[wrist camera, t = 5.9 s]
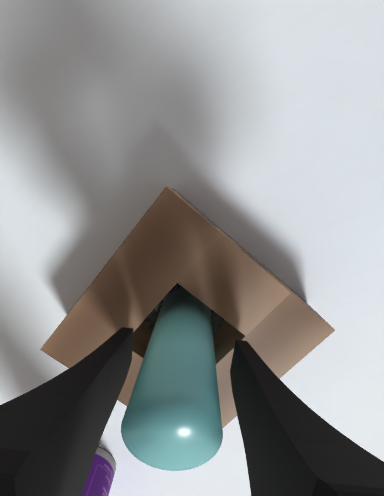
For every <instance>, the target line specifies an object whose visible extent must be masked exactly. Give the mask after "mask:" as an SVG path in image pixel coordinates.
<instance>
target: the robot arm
mask: <svg viewBox="0 0 384 496" xmlns="http://www.w3.org/2000/svg"><path fill="white" fill-rule="evenodd" d="M133 329H134V328H126V327H122V328H120V329H119V330H118V331H117V332H116V333H115V334H113V335H112V336H111V337H110V338H109V339H108V340H106V341H105V342H104V343H103V344H102V345H100V346H99V347H98V348H97V349H95V350H94V351H93V352H92V353H90V354H89V355H88V356H86V357H85V358H83V359H82V360H81V361H79V362H78V363H77V364H75V365H74V366H72V367H71V368H69V369H68V370H66V371H64V372H63V373H61V374H60V375H58V376H56V377H55V378H53V379H51V380H49V381H48V382H46V383H44V384H42V385H40V386H38V387H37V388H35V389H33V390H31V391H29V392H27V393H25V394H23V395H21V396H19V397H17V398H15V399H13V400H11V401H8V402H6V403H4V404H2V405H0V496H81V495H82V492H83V489H84V486H85V483H86V480H87V477H88V474H89V471H90V468H91V465H92V462H93V459H94V456H95V453H96V450H97V447H98V444H99V442H100V439H101V436H102V434H103V431H104V429H105V426H106V424H107V422H108V419H109V417H110V415H111V413H112V410H113V408H114V406H115V403H116V401H117V399H118V397H119V394H120V392H121V390H122V387H123V385H124V383H125V380H126V377H127V374H128V371H129V368H130V365H131V361H132V348H133ZM230 377H231V386H232V393H233V398H234V403H235V407H236V412H237V416H238V420H239V425H240V429H241V434H242V438H243V443H244V448H245V453H246V460H247V467H248V474H249V481H250V488H251V496H384V462H383V461H381V460H380V459H378V458H377V457H375V456H374V455H372V454H370V453H369V452H367V451H366V450H364V449H363V448H361V447H360V446H358V445H357V444H356V443H354V442H353V441H351V440H350V439H349V438H347V437H346V436H344V435H343V434H342V433H340V432H339V431H338V430H336V429H335V428H334V427H332V426H331V425H330V424H328V423H327V422H326V421H325V420H324V419H322V418H321V417H320V416H319V415H317V414H316V413H315V412H314V411H313V410H311V409H310V408H309V407H308V406H307V405H306V404H305V403H303V402H302V401H301V400H300V399H299V398H298V397H297V396H296V395H295V394H294V393H293V392H292V391H291V390H290V389H289V388H288V387H287V386H286V385H285V384H284V383H283V382H282V381H281V380H280V379H279V378H278V377H277V376H276V375H275V374H274V373H273V372H272V370H271V369H270V368H269V367H268V366H267V365H266V363H265V362H264V361H263V360H262V359H261V357H260V356H259V355H258V354H257V353H256V351H255V350H254V349H253V348H252V346H251V345H250V344H249V343H248V342H247V341H243V340H236V341H235V346H234V352H233V357H232V363H231V368H230Z"/></svg>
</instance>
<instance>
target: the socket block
mask: <svg viewBox="0 0 384 496" xmlns="http://www.w3.org/2000/svg"><path fill="white" fill-rule="evenodd" d="M177 283H178V284H179V285H181V286H182V287H183V288H185V289H186V290H187V291H188V292H190V293H191V294H192V295H194V296H195V297H196V298H197V299H199V300H200V301H201V302H203V303H204V304H205V305H206V306H208V307H209V308H210V309H212V310H213V311H214V312H215V313H217V314H218V315H219V316H221V317H222V318H223V319H224V320H225V321H224V322H223V323H222V324H221V325H220V326H219V327H218V328H217V329H216V330H215V331H214V332H213V341H214V351H215V361H216V371H217V381H218V391H219V401H220V411H221V421H222V428H223V427H224V426H225V425H227V424H228V423H229V422H230V421H231V420H232V419H234V418H235V417H236V416H237V412H236V407H235V403H234V398H233V393H232V386H231V377H230V368H231V363H232V357H233V352H234V346H235V341H236V340H243V341H247V342H248V343H249V344H250V345H251V346H252V348H253V349H254V350H255V351H256V353H257V354H258V355H259V356H260V357H261V359H262V360H263V361H264V362H265V363H266V365H267V366H268V367H269V368H270V369H271V370H272V372H273V373H274V374H275V375H276V376H277V377H278V378H279V379H280V378H281V377H282V376H283V375H284V374H285V373H286V372H288V371H289V370H290V369H291V368H292V367H293V366H294V365H296V364H297V363H298V362H299V361H300V360H301V359H303V358H304V357H305V356H306V355H307V354H308V353H309V352H311V351H312V350H313V349H314V348H315V347H316V346H317V345H319V344H320V343H321V342H322V341H323V340H324V339H325V338H327V337H328V336H329V335H330V334H331V333H332V332H334V331H335V330H334V329H333V328H332V327H331V326H330V325H329V324H328V323H327V322H326V321H325V320H324V319H323V318H322V317H321V316H320V315H319V314H318V313H317V312H316V311H314V310H313V309H312V308H311V307H310V306H309V305H308V304H307V303H306V302H305V301H304V300H302V299H301V298H300V297H299V296H298V295H297V294H295V293H294V292H293V291H292V290H291V289H290V288H288V287H287V286H286V285H285V284H284V283H282V282H281V281H280V280H279V279H278V278H277V277H275V276H274V275H273V274H272V273H271V272H270V271H268V270H267V269H266V268H265V267H264V266H263V265H261V264H260V263H259V262H258V261H257V260H256V259H254V258H253V257H252V256H251V255H250V254H248V253H247V252H246V251H245V250H244V249H243V248H241V247H240V246H239V245H238V244H237V243H236V242H234V241H233V240H232V239H231V238H230V237H229V236H227V235H226V234H225V233H224V232H223V231H222V230H220V229H219V228H218V227H217V226H216V225H214V224H213V223H212V222H211V221H210V220H209V219H207V218H206V217H205V216H204V215H203V214H202V213H200V212H199V211H198V210H197V209H196V208H195V207H193V206H192V205H191V204H190V203H189V202H188V201H186V200H185V199H184V198H183V197H182V196H180V195H179V194H178V193H177V192H176V191H175V190H173V189H171V188H168V187H166V188H165V189H164V191H163V192H162V193H161V194H160V196H159V197H158V198H157V200H156V201H155V202H154V203H153V205H152V206H151V207H150V209H149V210H148V211H147V213H146V214H145V215H144V216H143V218H142V219H141V220H140V222H139V223H138V224H137V225H136V227H135V228H134V229H133V231H132V232H131V233H130V234H129V236H128V237H127V238H126V240H125V241H124V242H123V244H122V245H121V246H120V247H119V249H118V250H117V251H116V253H115V254H114V255H113V256H112V258H111V259H110V260H109V262H108V263H107V264H106V265H105V267H104V268H103V269H102V271H101V272H100V273H99V274H98V276H97V277H96V278H95V280H94V281H93V282H92V284H91V285H90V286H89V287H88V289H87V290H86V291H85V293H84V294H83V295H82V296H81V298H80V299H79V300H78V302H77V303H76V304H75V305H74V307H73V308H72V309H71V311H70V312H69V313H68V315H67V316H66V317H65V318H64V320H63V321H62V322H61V324H60V325H59V326H58V327H57V329H56V330H55V331H54V333H53V334H52V335H51V336H50V338H49V339H48V340H47V342H46V343H45V344H44V345H43V347H42V348H41V349H40V350H42V351H43V352H45V353H46V354H48V355H49V356H51V357H52V358H54V359H55V360H57V361H59V362H60V363H62V364H63V365H65V366H66V367H68V368H71V367H72V366H74V365H75V364H77V363H78V362H79V361H81V360H82V359H83V358H85V357H86V356H88V355H89V354H90V353H92V352H93V351H94V350H95V349H97V348H98V347H99V346H100V345H102V344H103V343H104V342H105V341H106V340H108V339H109V338H110V337H111V336H112V335H113V334H115V333H116V332H117V331H118V330H119V329H120V328H122V327H126V328H134V329H133V348H132V361H131V365H130V368H129V371H128V374H127V377H126V380H125V383H124V385H123V387H122V390H121V392H120V394H119V397H118V399H117V400H119V401H120V402H122V403H123V404H125V405H126V406H128V403H129V400H130V397H131V394H132V391H133V388H134V385H135V382H136V379H137V376H138V373H139V370H140V367H141V364H142V361H143V358H144V356H145V353H146V350H147V347H148V344H149V341H150V338H151V335H152V332H153V329H154V328H153V327H151V326H150V325H149V324H147V323H146V322H145V321H144V320H145V319H146V318H147V316H148V315H149V314H150V313H151V312H152V311H153V310H154V308H155V307H156V306H157V305H158V304H159V303H160V302H161V301H162V299H163V298H164V297H165V296H166V295H167V294H168V293H169V291H170V290H171V289H172V288H173V287H174V286H175V285H176V284H177Z"/></svg>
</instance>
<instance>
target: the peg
mask: <svg viewBox="0 0 384 496" xmlns="http://www.w3.org/2000/svg"><path fill="white" fill-rule="evenodd" d="M121 433H122V438H123V441H124V443H125V445H126V447H127V448H128V450H129V451H130V452H131V453H132V454H133V455H134V456H135V457H136V458H137V459H139V460H140V461H142V462H144V463H145V464H147V465H150V466H152V467H155V468H158V469H163V470H170V471H180V470H188V469H192V468H195V467H198V466H200V465H202V464H204V463H206V462H207V461H209V460H210V459H211V458H212V457H213V456H214V455H215V454H216V453H217V451H218V450H219V448H220V446H221V443H222V438H223V431H222V421H221V411H220V401H219V391H218V381H217V371H216V361H215V351H214V341H213V331H212V321H211V311H210V308H209V307H208V306H206V305H205V304H204V303H203V302H201V301H200V300H199V299H197V298H196V297H195V296H194V295H192V294H191V293H190V292H188V291H187V290H186V289H185V288H182V289H177V290H174V291H172V292H171V293H169V294H168V295H167V296H166V297H165V299H164V300H163V303H162V305H161V308H160V311H159V314H158V317H157V320H156V323H155V326H154V329H153V332H152V335H151V338H150V341H149V344H148V347H147V350H146V353H145V356H144V358H143V361H142V364H141V367H140V370H139V373H138V376H137V379H136V382H135V385H134V388H133V391H132V394H131V397H130V400H129V403H128V406H127V409H126V412H125V415H124V418H123V420H122V425H121Z"/></svg>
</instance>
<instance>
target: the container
mask: <svg viewBox="0 0 384 496" xmlns="http://www.w3.org/2000/svg"><path fill="white" fill-rule="evenodd" d="M115 470H116V464H115V461H114V459H113V457H112V456H111V455H110V454H109V453H108V452H107V451H105V450H104V449H102V448H100V447H97V450H96V453H95V456H94V459H93V462H92V465H91V468H90V471H89V474H88V477H87V480H86V483H85V486H84V489H83V492H82V495H81V496H108V494H109V491H110V488H111V484H112V481H113V477H114V474H115Z"/></svg>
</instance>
